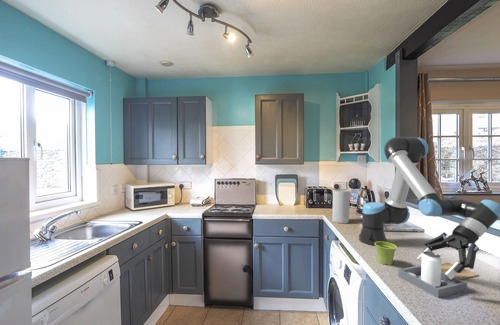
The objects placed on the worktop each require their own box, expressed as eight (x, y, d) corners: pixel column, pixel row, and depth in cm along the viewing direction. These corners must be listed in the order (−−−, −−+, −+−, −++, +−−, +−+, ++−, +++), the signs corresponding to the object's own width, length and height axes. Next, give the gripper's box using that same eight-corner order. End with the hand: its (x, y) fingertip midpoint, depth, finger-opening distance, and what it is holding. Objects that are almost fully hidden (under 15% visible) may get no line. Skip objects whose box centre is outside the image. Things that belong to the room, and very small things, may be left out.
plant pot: (387, 268, 108) (388, 249, 107) (369, 259, 116) (370, 242, 116) (400, 264, 111) (401, 247, 111) (382, 256, 120) (383, 240, 120)
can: (421, 277, 100) (422, 249, 100) (440, 282, 96) (441, 253, 96) (420, 283, 95) (421, 254, 95) (440, 289, 91) (441, 259, 91)
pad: (430, 266, 110) (430, 265, 110) (448, 263, 113) (448, 262, 113) (460, 279, 98) (460, 278, 98) (478, 275, 102) (478, 274, 102)
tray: (398, 276, 101) (398, 269, 101) (424, 271, 106) (424, 264, 106) (437, 297, 85) (438, 289, 85) (466, 290, 90) (466, 283, 90)
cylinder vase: (352, 222, 182) (353, 191, 181) (340, 224, 177) (341, 191, 176) (340, 218, 193) (340, 188, 193) (328, 220, 188) (329, 189, 187)
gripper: (510, 249, 83) (469, 292, 82) (446, 228, 108) (415, 260, 107) (497, 235, 82) (455, 277, 82) (436, 216, 107) (404, 249, 107)
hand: (432, 268), depth 95 cm, fingers open, 13 cm apart
